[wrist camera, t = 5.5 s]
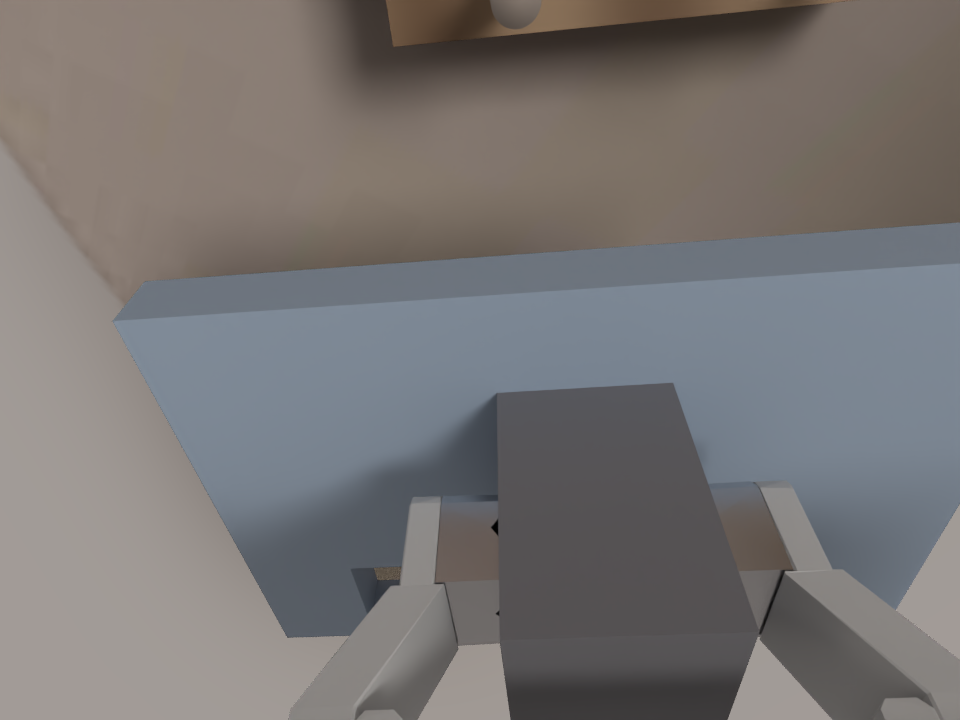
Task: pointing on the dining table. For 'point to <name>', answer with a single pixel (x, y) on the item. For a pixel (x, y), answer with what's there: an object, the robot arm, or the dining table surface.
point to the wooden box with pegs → (545, 15)
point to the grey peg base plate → (575, 435)
